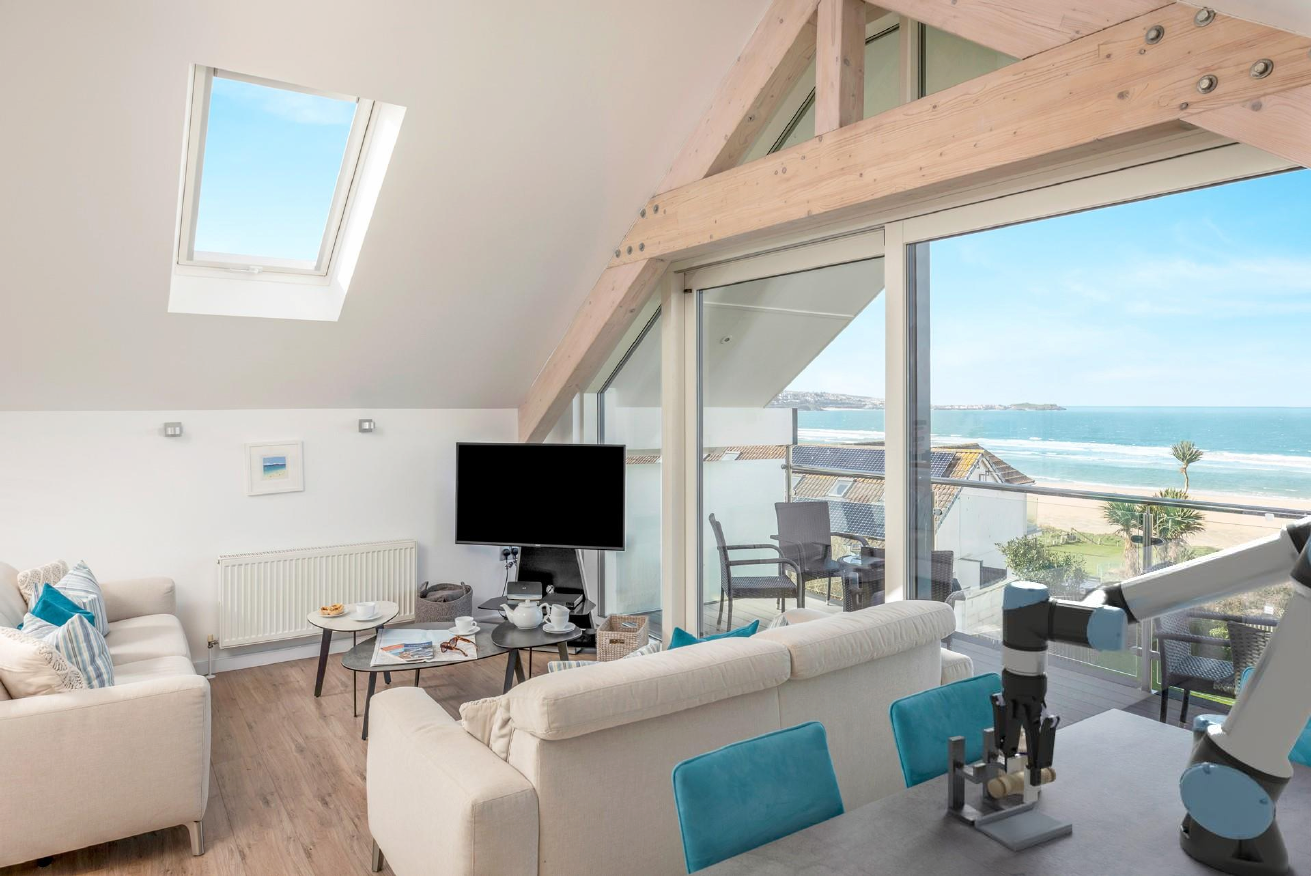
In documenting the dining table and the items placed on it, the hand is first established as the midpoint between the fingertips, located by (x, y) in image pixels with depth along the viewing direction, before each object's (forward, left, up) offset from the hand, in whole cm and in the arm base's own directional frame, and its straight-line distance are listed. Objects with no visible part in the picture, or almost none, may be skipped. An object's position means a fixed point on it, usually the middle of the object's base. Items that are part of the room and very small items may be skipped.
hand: (1022, 796), depth 147 cm
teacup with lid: (+13, -12, -6) cm, 18 cm away
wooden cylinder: (0, 0, +1) cm, 2 cm away
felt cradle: (0, 0, -6) cm, 6 cm away
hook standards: (+7, +1, -6) cm, 9 cm away
